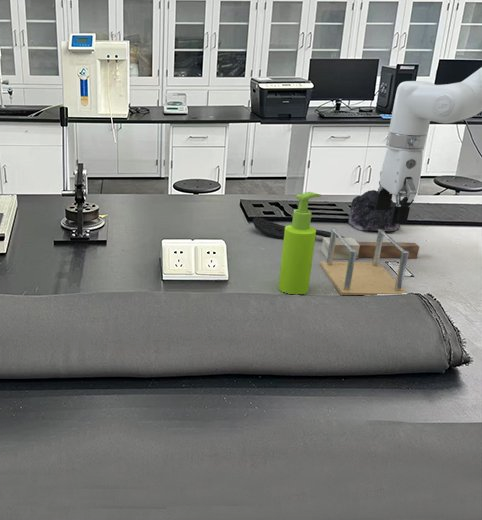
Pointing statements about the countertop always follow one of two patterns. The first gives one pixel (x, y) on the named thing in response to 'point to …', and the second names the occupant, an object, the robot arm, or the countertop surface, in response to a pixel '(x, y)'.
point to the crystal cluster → (371, 213)
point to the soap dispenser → (298, 249)
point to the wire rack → (364, 270)
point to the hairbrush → (279, 228)
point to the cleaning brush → (368, 249)
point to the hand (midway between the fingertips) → (390, 216)
